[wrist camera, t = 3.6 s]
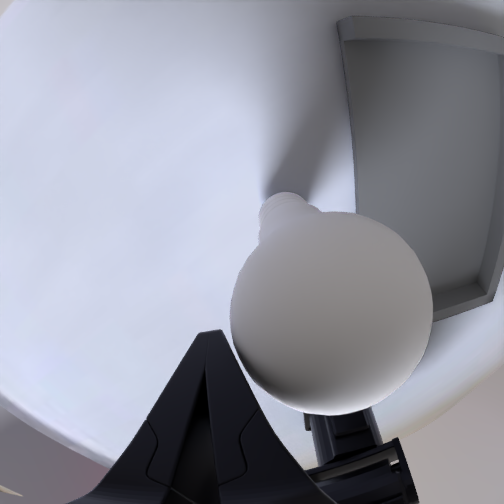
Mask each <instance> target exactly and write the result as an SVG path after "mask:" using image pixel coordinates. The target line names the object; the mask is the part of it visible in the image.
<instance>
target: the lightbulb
mask: <svg viewBox="0 0 504 504" xmlns="http://www.w3.org/2000/svg"><path fill="white" fill-rule="evenodd" d="M259 226H260V230H259V235H258V243H259V245H258V246H257V247H256V248H255V250H254V251H253V252H252V253H251V255H250V256H249V257H248V259H247V260H246V262H245V264H244V265H243V267H242V269H241V270H240V272H239V275H238V278H237V281H236V284H235V287H234V291H233V295H232V299H231V307H230V326H231V333H232V338H233V343H234V346H235V349H236V351H237V354H238V356H239V358H240V360H241V362H242V364H243V366H244V368H245V369H246V371H247V372H248V374H249V375H250V377H251V378H252V380H253V381H254V382H255V383H256V384H257V385H258V386H259V387H260V388H261V389H262V390H263V391H265V392H266V393H267V394H268V395H270V396H271V397H272V398H274V399H275V400H277V401H279V402H281V403H282V404H284V405H286V406H288V407H291V408H293V409H295V410H297V411H301V412H304V413H310V414H319V415H342V414H348V413H352V412H356V411H359V410H363V409H365V408H368V407H371V406H373V405H375V404H377V403H379V402H380V401H382V400H384V399H385V398H386V397H388V396H389V395H390V394H392V393H393V392H394V391H396V390H397V389H398V388H399V387H400V386H401V385H402V384H403V383H404V382H405V381H406V380H407V379H408V378H409V377H410V375H411V374H412V372H413V371H414V369H415V368H416V366H417V365H418V363H419V362H420V360H421V358H422V357H423V355H424V352H425V350H426V347H427V344H428V340H429V337H430V333H431V327H432V319H433V301H432V293H431V289H430V285H429V282H428V278H427V276H426V273H425V271H424V269H423V267H422V265H421V263H420V261H419V259H418V257H417V255H416V254H415V252H414V251H413V250H412V249H411V248H410V246H409V245H408V244H407V243H406V242H405V241H404V240H403V239H402V238H401V237H400V236H399V235H398V234H397V233H396V232H395V231H393V230H391V229H390V228H388V227H387V226H385V225H383V224H382V223H379V222H377V221H375V220H373V219H371V218H368V217H365V216H362V215H358V214H355V213H348V212H321V211H320V210H319V209H318V208H316V207H315V206H313V205H310V204H308V203H307V202H306V201H305V200H304V199H303V198H302V197H300V196H299V195H297V194H295V193H291V192H280V193H277V194H274V195H272V196H271V197H269V198H268V199H267V200H266V201H265V202H264V203H263V205H262V207H261V209H260V211H259Z"/></svg>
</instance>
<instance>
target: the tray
mask: <svg viewBox="0 0 504 504" xmlns="http://www.w3.org/2000/svg"><path fill="white" fill-rule="evenodd" d="M337 28H338V33H339V39H340V45H341V51H342V58H343V65H344V72H345V79H346V87H347V95H348V103H349V113H350V123H351V134H352V146H353V159H354V176H355V197H356V214H358V215H362V216H365V217H368V218H371V219H373V220H375V221H377V222H379V223H382V224H383V225H385V226H387V227H388V228H390V229H391V230H393V231H395V232H396V233H397V234H398V235H399V236H400V237H401V238H402V239H403V240H404V241H405V242H406V243H407V244H408V245H409V246H410V248H411V249H412V250H413V251H414V252H415V254H416V255H417V257H418V259H419V261H420V263H421V265H422V267H423V269H424V271H425V273H426V276H427V278H428V282H429V285H430V289H431V293H432V301H433V319H432V322H435V321H439V320H442V319H445V318H448V317H451V316H454V315H457V314H460V313H462V312H465V311H468V310H471V309H474V308H476V307H479V306H482V305H485V304H487V303H490V302H493V299H494V296H495V293H496V290H497V287H498V284H499V281H500V277H501V274H502V271H503V267H504V37H501V36H498V35H494V34H490V33H486V32H482V31H478V30H473V29H468V28H464V27H459V26H453V25H447V24H441V23H435V22H428V21H420V20H412V19H402V18H389V17H371V16H350V17H348V18H345V19H343V20H341V21H338V22H337Z"/></svg>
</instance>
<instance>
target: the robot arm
mask: <svg viewBox="0 0 504 504" xmlns="http://www.w3.org/2000/svg"><path fill="white" fill-rule="evenodd" d="M303 414H304V423H305V430H306V431H312V436H313V441H314V446H315V451H316V456H317V461H318V466H319V467H316V468H312V469H309V470H303V468H302V467H301V466H300V465H299V464H298V462H297V461H296V460H295V459H294V457H293V456H292V455H291V454H290V452H289V451H288V450H287V449H286V447H285V446H284V445H283V443H282V442H281V441H280V439H279V438H278V436H277V435H276V434H275V432H274V431H273V429H272V427H271V425H270V424H269V422H268V420H267V419H266V417H265V415H264V413H263V411H262V409H261V408H260V405H259V404H258V402H257V400H256V398H255V396H254V394H253V392H252V390H251V388H250V386H249V384H248V382H247V380H246V378H245V376H244V374H243V372H242V370H241V368H240V366H239V364H238V362H237V360H236V358H235V356H234V354H233V352H232V350H231V347H230V345H229V343H228V341H227V339H226V337H225V335H224V333H223V331H222V330H221V329H219V330H213V331H206V332H200V333H199V334H198V335H197V336H196V338H195V339H194V341H193V343H192V344H191V346H190V348H189V349H188V351H187V352H186V354H185V356H184V357H183V359H182V361H181V362H180V364H179V365H178V367H177V369H176V370H175V372H174V374H173V375H172V377H171V378H170V380H169V382H168V383H167V385H166V387H165V388H164V390H163V392H162V393H161V395H160V396H159V398H158V400H157V401H156V403H155V405H154V406H153V408H152V410H151V411H150V413H149V414H148V416H147V418H146V419H147V420H145V421H144V422H143V424H142V426H141V427H140V429H139V430H138V432H137V434H136V435H135V437H134V438H133V440H132V441H131V443H130V444H129V445H128V447H127V448H126V449H125V451H124V452H123V453H122V455H121V456H120V457H119V459H118V460H117V461H116V462H115V464H114V465H113V466H112V468H111V469H110V470H109V471H108V473H107V474H106V475H105V476H104V478H103V479H102V480H101V481H100V483H99V484H98V485H97V486H96V487H95V488H94V489H93V490H92V491H90V492H89V493H88V494H86V495H84V496H83V497H80V498H78V499H76V500H73V501H71V502H68V503H66V504H419V499H418V495H417V492H416V489H415V486H414V482H413V479H412V476H411V473H410V470H409V467H408V464H407V461H406V458H405V456H404V452H403V450H402V447H401V444H400V441H399V438H398V437H396V438H394V439H392V441H390V442H387V443H385V444H383V441H382V438H381V435H380V432H379V429H378V426H377V423H376V420H375V417H374V414H373V411H372V408H371V407H368V408H365V409H363V410H359V411H356V412H352V413H348V414H342V415H319V414H310V413H304V412H303ZM395 460H399V462H398V463H396V464H393V465H391V464H390V463H391V462H393V461H395Z"/></svg>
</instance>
